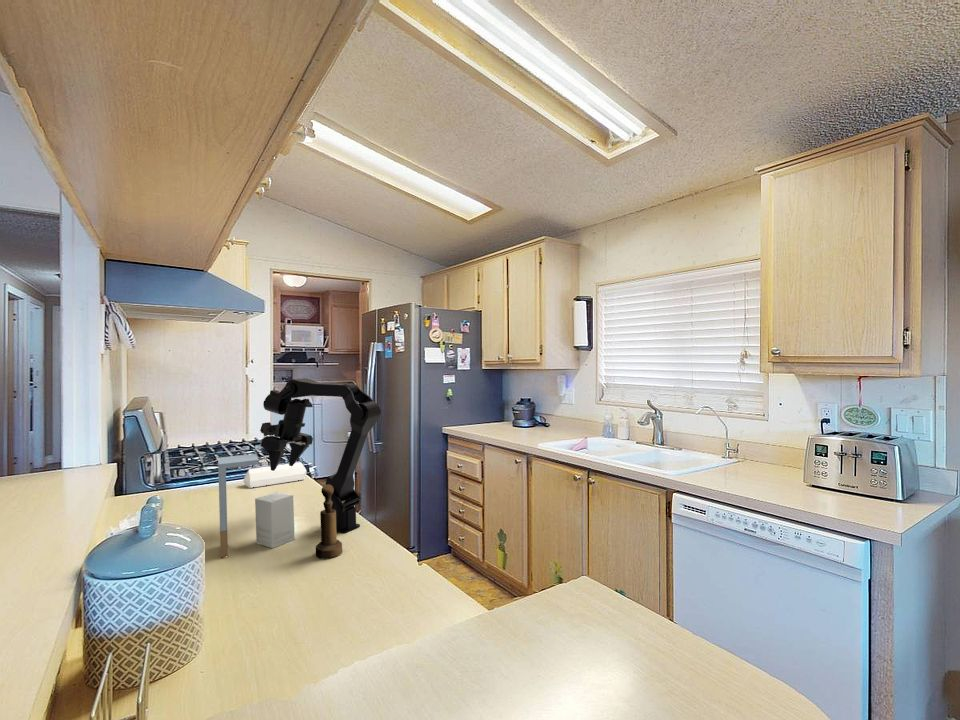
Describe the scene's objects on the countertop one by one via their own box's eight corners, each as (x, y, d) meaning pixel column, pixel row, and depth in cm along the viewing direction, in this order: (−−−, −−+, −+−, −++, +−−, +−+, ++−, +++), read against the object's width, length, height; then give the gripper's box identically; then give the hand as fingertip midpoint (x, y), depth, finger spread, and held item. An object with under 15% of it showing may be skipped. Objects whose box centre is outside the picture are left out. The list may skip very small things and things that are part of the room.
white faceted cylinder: (245, 481, 184) (310, 471, 197) (242, 468, 189) (306, 460, 202) (244, 495, 187) (308, 485, 200) (242, 482, 192) (304, 473, 205)
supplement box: (295, 539, 135) (294, 494, 134) (271, 549, 128) (270, 502, 128) (279, 534, 139) (278, 491, 138) (255, 543, 132) (254, 498, 132)
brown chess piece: (334, 546, 130) (333, 480, 129) (347, 553, 125) (345, 484, 125) (311, 554, 125) (309, 485, 125) (322, 561, 120) (321, 490, 120)
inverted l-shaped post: (258, 539, 136) (256, 453, 135) (261, 550, 128) (258, 459, 127) (220, 546, 131) (218, 457, 130) (221, 558, 123) (218, 464, 123)
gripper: (288, 411, 159) (278, 457, 159) (251, 413, 141) (238, 465, 141) (318, 419, 157) (307, 466, 156) (283, 422, 139) (271, 475, 138)
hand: (281, 468), depth 148 cm, fingers open, 9 cm apart
